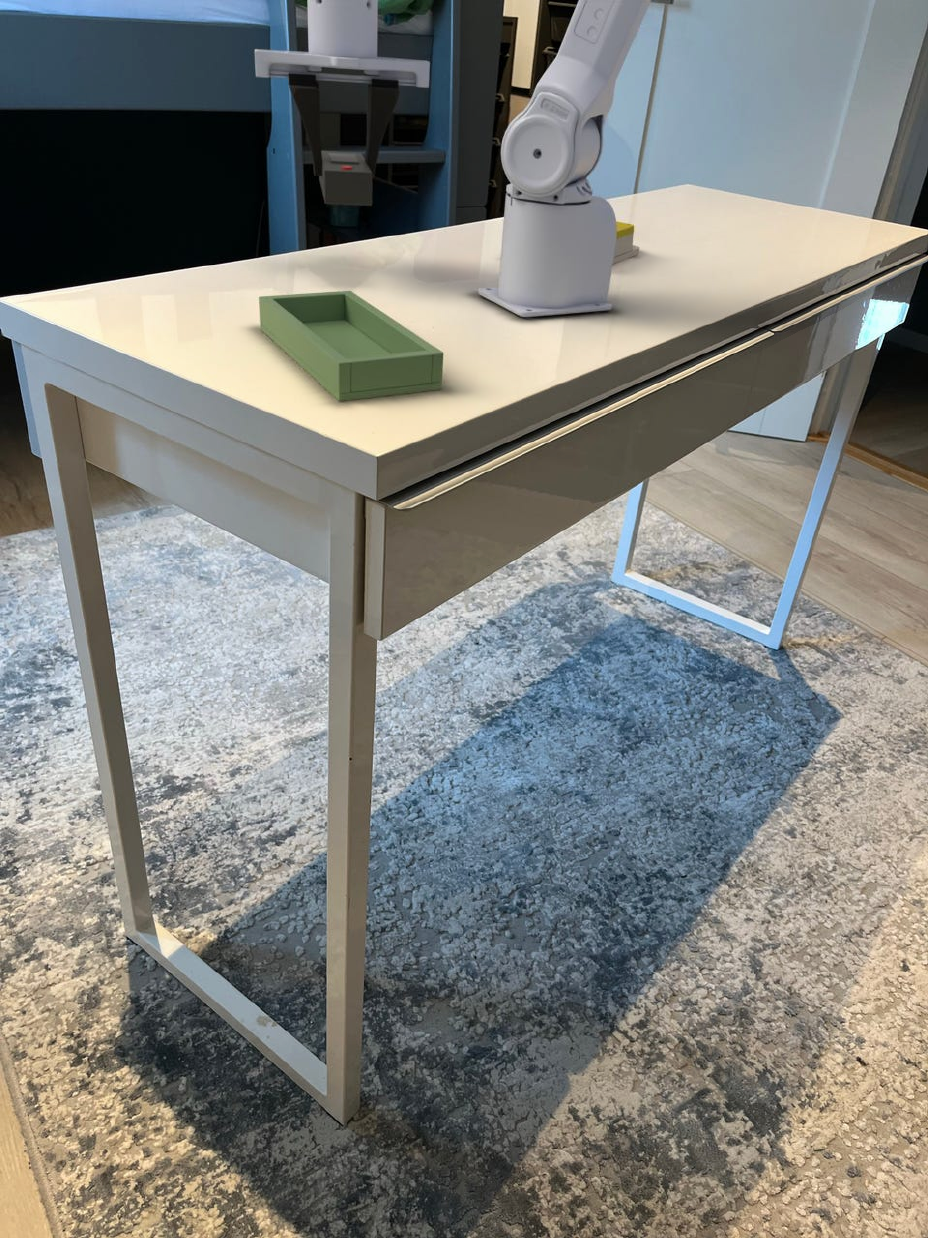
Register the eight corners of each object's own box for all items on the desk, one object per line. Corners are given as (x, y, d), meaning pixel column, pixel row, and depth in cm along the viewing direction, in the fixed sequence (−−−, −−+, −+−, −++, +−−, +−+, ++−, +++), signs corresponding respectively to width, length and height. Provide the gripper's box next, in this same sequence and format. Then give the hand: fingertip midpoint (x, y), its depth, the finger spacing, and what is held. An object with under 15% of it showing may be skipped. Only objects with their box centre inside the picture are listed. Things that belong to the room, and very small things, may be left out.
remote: (319, 180, 88) (318, 148, 86) (361, 182, 89) (361, 150, 87) (324, 203, 78) (324, 168, 77) (372, 205, 79) (372, 170, 77)
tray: (350, 322, 74) (350, 290, 72) (441, 389, 62) (443, 352, 61) (260, 329, 71) (258, 296, 69) (339, 401, 59) (339, 362, 58)
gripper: (250, -16, 71) (260, 178, 78) (437, -1, 73) (430, 186, 81) (252, -15, 76) (261, 166, 84) (425, -2, 79) (419, 173, 86)
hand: (343, 175), depth 83 cm, fingers closed on remote, 4 cm apart
